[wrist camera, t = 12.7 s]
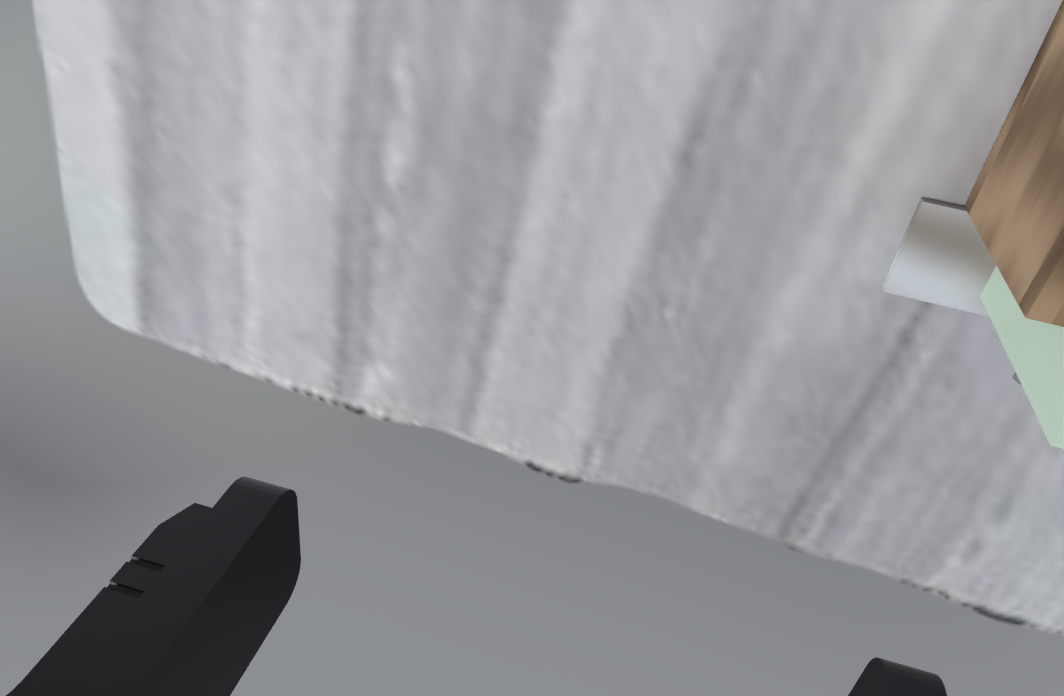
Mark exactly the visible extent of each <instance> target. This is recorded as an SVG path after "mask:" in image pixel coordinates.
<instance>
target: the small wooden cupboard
mask: <svg viewBox="0 0 1064 696" xmlns="http://www.w3.org/2000/svg"><path fill="white" fill-rule="evenodd" d="M996 265H997V267H998V269H999V271H1000V273H1001V275H1002V276H1003V278H1004V280H1005V282H1006V284H1007V285H1008V287H1009V289H1010V291H1011V293H1012V295H1013V296H1014V298H1015V300H1016V302H1017V304H1018V305H1019V307H1020V309H1021V311H1022V313H1023V315H1024V316H1025V318H1027V319H1031V320H1036V321H1040V322H1044V323H1049V324H1053V325H1057V326H1061V327H1064V0H1063V2H1062V4H1061V6H1060V8H1059V10H1058V12H1057V14H1056V16H1055V18H1054V20H1053V23H1052V25H1051V27H1050V29H1049V31H1048V33H1047V35H1046V37H1045V39H1044V41H1043V43H1042V45H1041V48H1040V50H1039V52H1038V54H1037V56H1036V58H1035V60H1034V62H1033V64H1032V66H1031V68H1030V70H1029V73H1028V75H1027V77H1026V79H1025V81H1024V83H1023V85H1022V87H1021V89H1020V91H1019V93H1018V95H1017V98H1016V100H1015V102H1014V104H1013V106H1012V108H1011V110H1010V112H1009V114H1008V116H1007V118H1006V120H1005V123H1004V125H1003V127H1002V129H1001V131H1000V133H999V135H998V137H997V139H996V141H995V143H994V145H993V148H992V150H991V152H990V154H989V156H988V158H987V160H986V162H985V164H984V166H983V168H982V170H981V173H980V175H979V177H978V179H977V181H976V183H975V185H974V187H973V189H972V191H971V193H970V195H969V198H968V200H967V202H966V204H965V206H959V205H955V204H950V203H945V202H941V201H936V200H932V199H927V198H921V200H920V202H919V204H918V207H917V209H916V211H915V213H914V216H913V218H912V220H911V222H910V225H909V227H908V229H907V231H906V234H905V236H904V238H903V240H902V243H901V245H900V247H899V249H898V252H897V254H896V256H895V258H894V261H893V263H892V265H891V267H890V270H889V272H888V274H887V276H886V279H885V281H884V283H883V285H882V288H883V292H887V293H891V294H896V295H900V296H904V297H908V298H913V299H917V300H921V301H925V302H930V303H934V304H938V305H943V306H947V307H951V308H955V309H960V310H964V311H968V312H972V313H977V314H981V315H985V316H989V315H988V313H987V311H986V308H985V306H984V304H983V302H982V300H981V298H980V296H981V294H982V292H983V290H984V288H985V286H986V284H987V282H988V280H989V279H990V277H991V275H992V273H993V271H994V269H995V267H996Z"/></svg>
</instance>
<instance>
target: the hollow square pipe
mask: <svg viewBox="0 0 1064 696" xmlns="http://www.w3.org/2000/svg"><path fill="white" fill-rule="evenodd" d="M980 298H981V300H982V302H983V304H984V306H985V308H986V311H987V313H988V315H989V317H990V319H991V321H992V323H993V325H994V327H995V330H996V332H997V334H998V336H999V338H1000V340H1001V342H1002V344H1003V346H1004V349H1005V351H1006V353H1007V355H1008V357H1009V359H1010V361H1011V363H1012V365H1013V368H1014V370H1015V374H1014V375H1013V378H1014V380H1015V381H1016V382H1018V383H1019V384H1021V385H1022V387H1023V389H1024V391H1025V393H1026V395H1027V397H1028V399H1029V401H1030V403H1031V405H1032V408H1033V410H1034V412H1035V414H1036V416H1037V418H1038V420H1039V422H1040V424H1041V427H1042V429H1043V431H1044V433H1045V435H1046V437H1047V439H1048V441H1049V443H1050V445H1051V446H1054V447H1058V448H1062V449H1064V327H1061V326H1057V325H1053V324H1049V323H1044V322H1040V321H1036V320H1031V319H1027V318H1025V316H1024V315H1023V313H1022V311H1021V309H1020V307H1019V305H1018V304H1017V302H1016V300H1015V298H1014V296H1013V295H1012V293H1011V291H1010V289H1009V287H1008V285H1007V284H1006V282H1005V280H1004V278H1003V276H1002V275H1001V273H1000V271H999V269H998V267H997V265H996V267H995V269H994V271H993V273H992V275H991V277H990V279H989V280H988V282H987V284H986V286H985V288H984V290H983V292H982V294H981V296H980Z"/></svg>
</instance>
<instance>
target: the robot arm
mask: <svg viewBox="0 0 1064 696" xmlns="http://www.w3.org/2000/svg"><path fill="white" fill-rule="evenodd" d="M297 506H298V505H297V496H296V493H295V492H294V491H293V490H290V489H287V488H283V487H279V486H276V485H273V484H269V483H265V482H262V481H259V480H255V479H252V478H248V477H241V478H239V479H237V480H236V481H235V482H234V483H233V484H232V485H231V486H230V487H229V488H228V490H227V491H226V492H225V493H224V494H223V496H222V497H221V498H220V499H219V501H218V502H217V503H216V504H215V506H214V507H213V508H210V507H207V506H204V505H200V504H196V503H194V504H192V505H191V506H189V507H188V508H186V509H184V510H183V511H181V512H179V513H178V514H176V515H174V516H173V517H171V518H170V519H168V520H166V521H165V522H163V523H161V524H160V525H158V527H157V528H156V529H155V530H154V531H153V532H152V533H151V534H150V536H149V537H148V538H147V539H146V540H145V541H144V543H143V544H142V545H141V546H140V547H139V548H138V549H137V550H136V552H135V553H134V554H133V555H132V559H131V561H130V562H126V563H125V564H124V565H123V566H122V568H121V569H120V570H119V571H118V572H117V573H116V574H115V575H114V577H113V578H112V579H111V580H110V584H109V586H108V587H107V588H106V587H104V588H103V589H102V590H101V591H100V593H99V594H98V595H97V596H96V597H95V599H94V600H93V601H92V602H91V603H90V604H89V605H88V606H87V607H86V609H85V610H84V611H83V612H82V613H81V614H80V615H79V617H78V618H77V619H76V620H75V621H74V622H73V623H72V624H71V626H70V627H69V628H68V629H67V630H66V631H65V632H64V634H63V635H62V636H61V637H60V638H59V639H58V640H57V642H56V643H55V644H54V645H53V646H52V647H51V648H50V650H49V651H48V652H47V653H46V654H45V655H44V656H43V658H42V659H41V660H40V661H39V662H38V663H37V664H36V666H35V667H34V668H33V669H32V670H31V671H30V672H29V674H28V675H27V676H26V677H25V678H24V679H23V680H22V681H21V682H20V683H19V684H18V685H17V686H16V687H15V688H14V690H12V691H11V692H10V693H9V694H8V695H6V696H230V694H231V693H232V691H233V690H234V688H235V686H236V685H237V683H238V681H239V680H240V678H241V677H242V675H243V674H244V672H245V670H246V669H247V667H248V666H249V664H250V662H251V660H252V659H253V657H254V656H255V654H256V653H257V651H258V649H259V648H260V646H261V645H262V643H263V641H264V640H265V638H266V636H267V635H268V633H269V631H270V630H271V629H272V627H273V625H274V624H275V622H276V620H277V618H278V617H279V616H280V614H281V612H282V611H283V609H284V607H285V606H286V604H287V603H288V600H289V599H290V597H291V595H292V592H293V590H294V588H295V585H296V582H297V579H298V575H299V570H300V563H301V555H300V538H299V522H298V507H297ZM848 696H947V694H946V690H945V687H944V684H943V682H942V680H941V679H940V677H938V675H936V674H933V673H930V672H926V671H922V670H919V669H916V668H912V667H909V666H905V665H901V664H898V663H894V662H891V661H887V660H884V659H880V658H874V659H872V660H871V661H870V662H869V663H868V665H867V666H866V668H865V669H864V671H863V673H862V674H861V676H860V677H859V679H858V681H857V682H856V684H855V686H854V687H853V689H852V690H851V692H850V694H849V695H848Z"/></svg>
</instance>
